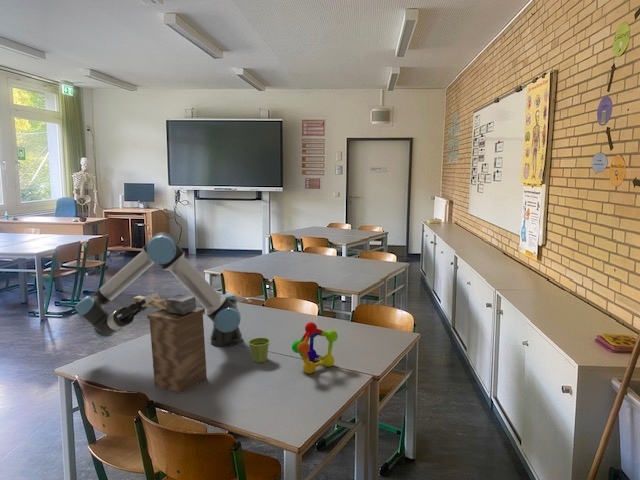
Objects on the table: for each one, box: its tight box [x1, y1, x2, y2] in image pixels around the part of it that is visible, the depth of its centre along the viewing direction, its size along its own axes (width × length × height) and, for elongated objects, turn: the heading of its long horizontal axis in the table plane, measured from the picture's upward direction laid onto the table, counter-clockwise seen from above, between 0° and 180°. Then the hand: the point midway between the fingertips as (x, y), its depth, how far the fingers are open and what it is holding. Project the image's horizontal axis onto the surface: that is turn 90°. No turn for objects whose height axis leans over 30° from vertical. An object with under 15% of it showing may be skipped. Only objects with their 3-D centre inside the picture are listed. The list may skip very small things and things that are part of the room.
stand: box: [146, 306, 208, 394], centre depth 180 cm, size 15×15×29 cm
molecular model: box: [291, 321, 338, 375], centre depth 193 cm, size 21×15×20 cm
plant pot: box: [248, 337, 271, 363], centre depth 201 cm, size 9×9×9 cm
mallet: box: [132, 294, 197, 314], centre depth 181 cm, size 28×7×5 cm, turn 64°
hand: (154, 296), depth 182 cm, fingers closed on mallet, 3 cm apart
